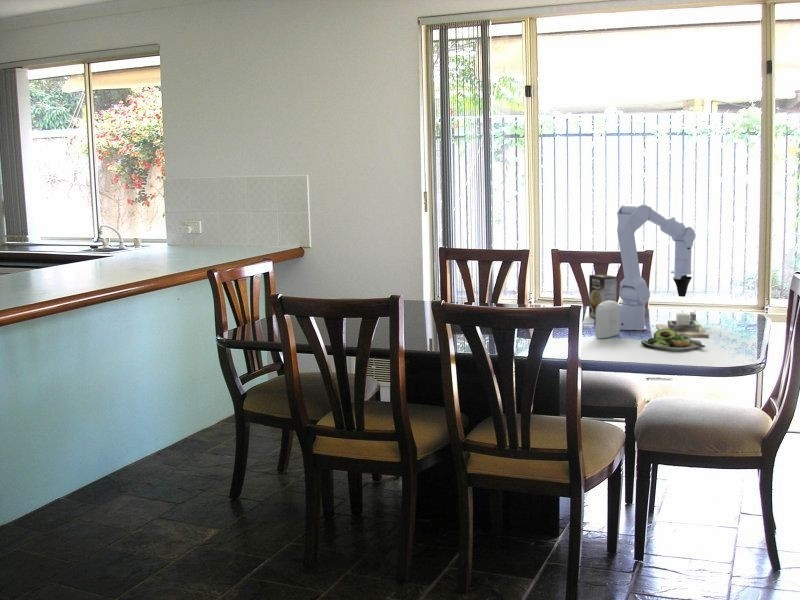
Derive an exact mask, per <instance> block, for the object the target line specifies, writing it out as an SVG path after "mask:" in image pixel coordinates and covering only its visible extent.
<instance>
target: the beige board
mask: <svg viewBox="0 0 800 600" xmlns="http://www.w3.org/2000/svg"><path fill="white" fill-rule="evenodd" d="M696 321H697V323H698V324H699V331H696V330H695V325H692V321H690V325H676V320H667V323H665V324H664V323H659V324H658V323H656V326H655V327H656V329H657V331H658V330H661V329H672V330H674V331H676V332H677V335H678V336H679V335H680V336H687V337H689V338H709V337H710V336H709V335H710V334H709V333H708V332H707V331H706V330H705V328H704V327H703V326H702V325H701V323H700V322H699V321H698V320H697V319H696Z"/></svg>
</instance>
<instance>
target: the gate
mask: <svg viewBox="0 0 800 600" xmlns="http://www.w3.org/2000/svg"><path fill="white" fill-rule="evenodd" d="M689 315H690V321H692V325H695V330H696V331H699V324H700V323H699V324H698V323H697V321H698V320H697V314H696V313H695V311H691V312H689ZM696 320H697V321H696Z"/></svg>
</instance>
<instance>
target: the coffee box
mask: <svg viewBox="0 0 800 600" xmlns="http://www.w3.org/2000/svg"><path fill="white" fill-rule="evenodd" d="M588 276H589V278H588V279H589V283H588V285H589V286H588V288H589V289H588V290H589V292H588V293H589V294H588V317H591V318H595V319H596V307H597V306H598V305H599V304H600V303H602V302H604V301H608V300H610V301H616V302H617V285H618V284H617V280H618V278H617V276H613V275H607V274H602V273H600V274H589V275H588Z"/></svg>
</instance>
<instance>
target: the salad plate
mask: <svg viewBox="0 0 800 600" xmlns="http://www.w3.org/2000/svg"><path fill="white" fill-rule="evenodd" d="M641 345H642V346H643V347H644V348H648V349H653V350H654V349H655V350H659V351H667V352H689V351H692V350H698V349H699V348H705V347H706V345H704V344H703V343H702V341H701V340H698V339H692V338H691V337H687V336H680V335H679V336H678V335H677V332H676V331H674V330H672V329H661V330H658V329H657V330H656V331H655V332H654V333H653V337H650V338H646V339H641Z"/></svg>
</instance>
